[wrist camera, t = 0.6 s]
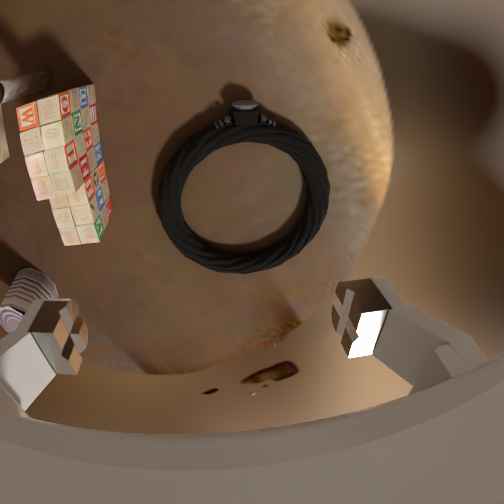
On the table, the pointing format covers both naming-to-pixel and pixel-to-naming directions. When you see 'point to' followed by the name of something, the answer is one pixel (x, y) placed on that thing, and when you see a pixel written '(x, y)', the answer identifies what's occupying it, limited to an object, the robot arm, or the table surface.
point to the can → (24, 296)
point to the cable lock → (227, 133)
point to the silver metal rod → (23, 85)
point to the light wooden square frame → (3, 140)
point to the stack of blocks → (67, 162)
